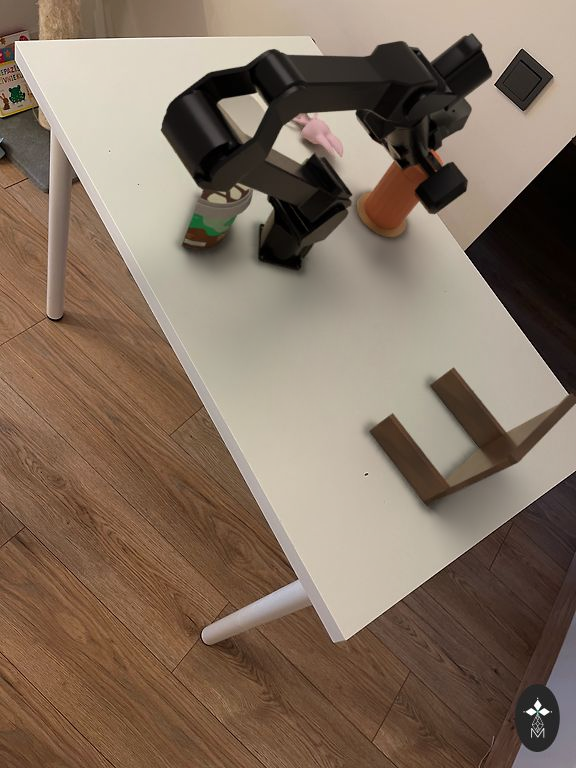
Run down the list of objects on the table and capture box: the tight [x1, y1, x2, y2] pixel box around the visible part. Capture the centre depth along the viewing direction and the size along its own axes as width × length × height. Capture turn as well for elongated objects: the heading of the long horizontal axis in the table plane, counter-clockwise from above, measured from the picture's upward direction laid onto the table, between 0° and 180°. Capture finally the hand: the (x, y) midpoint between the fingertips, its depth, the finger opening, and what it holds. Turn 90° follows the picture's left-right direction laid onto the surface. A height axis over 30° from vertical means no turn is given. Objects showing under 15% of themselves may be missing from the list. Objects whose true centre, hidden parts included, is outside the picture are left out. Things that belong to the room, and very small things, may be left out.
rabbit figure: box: [291, 113, 344, 159], centre depth 98 cm, size 6×6×15 cm
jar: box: [365, 150, 444, 229], centre depth 93 cm, size 7×7×12 cm
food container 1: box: [181, 183, 254, 250], centre depth 79 cm, size 12×6×10 cm, turn 168°
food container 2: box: [218, 94, 267, 138], centre depth 88 cm, size 12×12×6 cm
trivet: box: [356, 191, 407, 238], centre depth 98 cm, size 9×9×1 cm
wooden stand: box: [369, 367, 576, 506], centre depth 74 cm, size 12×15×17 cm
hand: (413, 172), depth 90 cm, fingers open, 9 cm apart
